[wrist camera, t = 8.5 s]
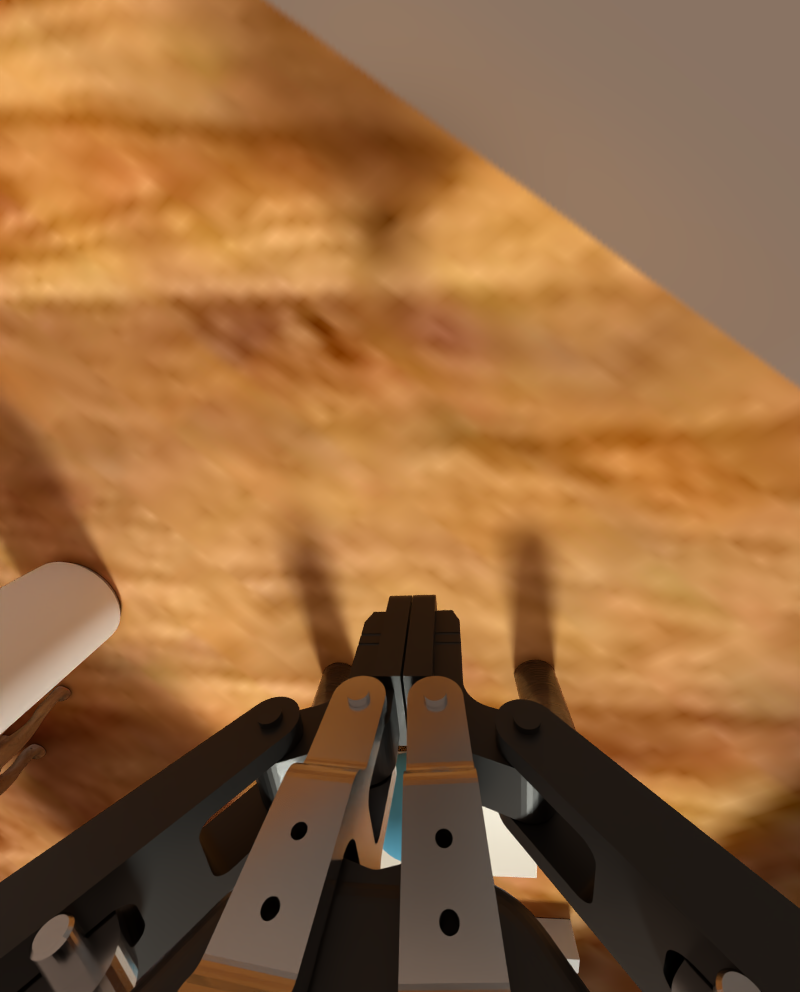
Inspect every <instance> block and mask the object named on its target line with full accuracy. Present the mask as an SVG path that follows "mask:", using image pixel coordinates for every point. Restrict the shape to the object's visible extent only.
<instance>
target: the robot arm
mask: <svg viewBox="0 0 800 992" xmlns="http://www.w3.org/2000/svg"><path fill="white" fill-rule="evenodd" d="M398 746H407V754H406V771H404V774H403V799H402V843H401V864H399V865H395V866H391V867H387V868H383V869H381V856H382V850H383V844H384V839H385V834H386V828H387V823H388V818H389V813H390V807H391V802H392V797H393V792H394V786H395V781H396V775H397V771H396V762H397V755H398ZM255 780H256V782H257V784H255V785H254V786H253V787H252V788H251V789H249V790H248V791H247V792H246V793H245V794H243V795H242V796H241V797H240V798H239V799H237V800H236V801H235V802H234V803H233V804H231V805H230V806H229V807H228V808H226V809H225V810H224V811H223V812H222V813H220V814H219V815H218V816H217V817H216V818H214V819H213V820H212V821H211V822H210V823H208V824H207V825H206V826H204V824H205V823H206V821H207V820H208V819H209V818H210V817H211V816H212V815H213V814H215V813H216V812H217V811H218V810H219V809H221V808H222V807H223V806H224V805H226V804H227V803H228V802H229V801H230V800H232V799H233V798H234V797H235V796H237V795H238V794H239V793H240V792H241V791H243V790H244V789H245V788H246V787H247V786H249V785H250V784H251V783H252V782H254V781H255ZM482 806H483V807H486V808H488V809H491V810H493V811H496V812H498V813H499V816H500V818H501V820H502V822H503V824H504V825H505V826H506V828H507V829H508V830H509V831H510V833H511V834H512V835H513V836H514V837H515V839H516V840H517V841H518V842H519V843H520V845H521V846H522V847H523V848H524V850H525V851H526V852H527V853H528V854H529V856H530V857H531V858H532V859H533V860H534V862H535V863H536V864H537V865H538V866H539V868H540V869H541V870H542V871H543V872H544V874H545V875H546V876H547V877H548V878H549V880H550V881H551V882H552V883H553V884H554V886H555V887H556V888H557V889H558V890H559V892H560V893H561V894H562V895H563V896H564V898H565V899H566V900H567V901H568V902H569V904H570V905H571V906H572V907H573V909H574V910H575V911H576V912H577V913H578V915H579V916H580V917H581V918H582V919H583V921H584V922H585V923H586V924H587V925H588V927H589V928H590V929H591V930H592V931H593V933H594V934H595V935H596V936H597V937H598V939H599V940H600V941H601V942H602V943H603V945H604V946H605V947H606V948H607V949H608V951H609V952H610V953H611V954H612V955H613V957H614V958H615V959H616V960H617V962H618V963H619V964H620V965H621V966H622V968H623V969H624V970H625V971H626V972H627V974H628V975H629V976H630V977H631V978H632V980H633V981H634V982H635V983H636V984H637V986H638V987H639V988H640V989H641V990H642V992H800V908H798V907H797V906H796V905H794V904H793V903H792V902H791V901H789V900H788V899H787V898H786V897H784V896H783V895H782V894H781V893H779V892H778V891H777V890H776V889H774V888H773V887H772V886H771V885H769V884H768V883H767V882H765V881H764V880H763V879H762V878H760V877H759V876H758V875H757V874H755V873H754V872H753V871H752V870H750V869H749V868H748V867H747V866H745V865H744V864H743V863H742V862H740V861H739V860H738V859H737V858H735V857H734V856H733V855H731V854H730V853H729V852H728V851H726V850H725V849H724V848H723V847H721V846H720V845H719V844H718V843H716V842H715V841H714V840H713V839H711V838H710V837H709V836H708V835H706V834H705V833H704V832H702V831H701V830H700V829H699V828H697V827H696V826H695V825H694V824H692V823H691V822H690V821H689V820H687V819H686V818H685V817H684V816H682V815H681V814H680V813H679V812H677V811H676V810H675V809H674V808H672V807H671V806H670V805H668V804H667V803H666V802H665V801H663V800H662V799H661V798H660V797H658V796H657V795H656V794H655V793H653V792H652V791H651V790H650V789H648V788H647V787H646V786H645V785H643V784H642V783H641V782H639V781H638V780H637V779H636V778H634V777H633V776H632V775H631V774H629V773H628V772H627V771H626V770H624V769H623V768H622V767H621V766H619V765H618V764H617V763H616V762H614V761H613V760H612V759H611V758H609V757H608V756H607V755H605V754H604V753H603V752H602V751H600V750H599V749H598V748H597V747H595V746H594V745H593V744H592V743H590V742H589V741H588V740H587V739H585V738H584V737H583V736H582V735H580V734H579V733H578V732H577V731H575V730H574V729H573V728H571V727H570V726H569V725H568V724H566V723H565V722H564V721H563V720H561V719H560V718H559V717H558V716H556V715H555V714H554V713H553V712H551V711H550V710H549V709H548V708H546V707H545V706H543V705H541V704H539V703H537V702H534V701H531V700H525V699H517V700H512V701H509V702H507V703H505V704H504V705H502V706H501V707H500V708H499V710H498V709H495V708H492V707H488V706H485V705H483V704H481V703H479V702H477V701H476V700H474V699H473V698H472V697H471V696H470V695H469V694H468V693H467V691H466V690H465V688H464V685H463V673H462V655H461V638H460V621H459V619H458V618H457V616H456V615H455V613H454V612H453V611H452V610H441V611H437V603H436V595H414V596H413V597H412V596H390V597H389V601H388V605H387V610H386V612H374V613H373V614H372V615H371V616H370V617H369V618H368V619H367V620H366V622H365V624H364V627H363V630H362V636H361V637H360V641H359V646H358V647H357V651H356V654H355V658H354V661H353V664H352V668H351V671H350V675H349V678H348V680H346V681H344V682H343V683H342V684H340V685H339V686H338V687H337V688H336V690H335V691H334V693H333V695H332V697H331V700H330V701H328V702H326V703H323V704H320V705H317V706H313V707H310V708H306V709H302V710H299V706H298V704H297V703H296V702H295V701H294V700H293V699H290V698H287V697H274V698H270V699H268V700H265V701H263V702H261V703H260V704H258V705H256V706H255V707H253V708H252V709H251V710H249V711H248V712H246V713H245V714H243V715H242V716H240V717H239V718H238V719H236V720H235V721H233V722H232V723H230V724H229V725H227V726H226V727H225V728H223V729H222V730H220V731H219V732H217V733H216V734H214V735H213V736H211V737H210V738H209V739H207V740H206V741H204V742H203V743H201V744H200V745H198V746H197V747H196V748H194V749H193V750H191V751H190V752H188V753H187V754H185V755H184V756H183V757H181V758H180V759H178V760H177V761H175V762H174V763H172V764H171V765H169V766H168V767H167V768H165V769H164V770H162V771H161V772H159V773H158V774H156V775H155V776H154V777H152V778H151V779H149V780H148V781H146V782H145V783H143V784H142V785H141V786H139V787H138V788H136V789H135V790H133V791H132V792H130V793H129V794H128V795H126V796H125V797H123V798H122V799H120V800H119V801H117V802H116V803H114V804H113V805H112V806H110V807H109V808H107V809H106V810H104V811H103V812H101V813H100V814H99V815H97V816H96V817H94V818H93V819H91V820H90V821H88V822H87V823H86V824H84V825H83V826H81V827H80V828H78V829H77V830H75V831H74V832H72V833H71V834H70V835H68V836H67V837H65V838H64V839H62V840H61V841H59V842H58V843H57V844H55V845H54V846H52V847H51V848H49V849H48V850H46V851H45V852H44V853H42V854H41V855H39V856H38V857H36V858H35V859H33V860H32V861H31V862H29V863H28V864H26V865H25V866H23V867H22V868H20V869H19V870H17V871H16V872H15V873H13V874H12V875H10V876H9V877H7V878H6V879H4V880H3V881H2V882H0V992H590V991H589V990H588V988H587V987H586V986H585V984H584V983H583V981H582V980H581V979H580V977H579V976H578V974H577V973H576V972H575V970H574V969H573V967H572V966H571V964H570V963H569V962H568V960H567V959H566V957H565V956H564V955H563V953H562V952H561V950H560V949H559V947H558V946H557V945H556V943H555V942H554V940H553V939H552V938H551V936H550V935H549V933H548V932H547V931H546V930H545V928H544V927H543V926H542V924H541V923H540V922H539V921H538V920H537V919H536V917H535V916H534V915H533V914H532V913H531V912H530V911H529V910H528V909H527V908H526V907H525V906H524V905H523V904H522V903H520V902H519V901H518V900H517V899H516V898H514V897H513V896H512V895H510V894H509V893H508V892H506V891H505V890H503V889H501V888H499V887H497V886H496V885H494V880H493V874H492V867H491V861H490V854H489V848H488V841H487V835H486V828H485V822H484V815H483V809H482ZM203 826H204V827H203ZM202 827H203V828H202ZM233 888H234V889H233ZM232 889H233V890H232ZM230 890H232V891H230ZM229 891H230V892H229ZM228 892H229V893H228ZM227 893H228V894H227ZM226 894H227V895H226ZM225 895H226V896H225ZM197 922H198V923H197ZM196 923H197V924H196ZM195 924H196V925H195ZM194 925H195V926H194ZM193 926H194V927H193ZM192 927H193V928H192ZM191 928H192V929H191ZM190 929H191V930H190ZM189 930H190V931H189ZM188 931H189V932H188ZM187 932H188V933H187ZM186 933H187V934H186ZM185 934H186V935H185ZM184 935H185V936H184ZM183 936H184V937H183ZM182 937H183V938H182ZM181 938H182V939H181ZM180 939H181V940H180ZM179 940H180V941H179ZM178 941H179V942H178ZM177 942H178V943H177ZM176 943H177V944H176ZM175 944H176V945H175ZM174 945H175V946H174ZM173 946H174V947H173ZM172 947H173V948H172ZM171 948H172V949H171ZM170 949H171V950H170ZM169 950H170V951H169ZM168 951H169V952H168ZM167 952H168V953H167ZM166 953H167V954H166ZM165 954H166V955H165ZM163 955H165V956H164V957H163V958H162V959H161V961H160V962H159V963H158V964H157V965H156V966H155V967H154V968H153V969H152V970H151V971H150V972H149V973H148V974H147V975H146V976H145V977H144V978H143V979H142V980H141V981H140V982H139V983H138V984H137V985H136V986H135V984H136V982H137V981H138V980H139V979H140V978H141V977H142V976H143V975H144V974H145V973H146V972H147V971H148V970H149V969H150V968H151V967H152V966H153V965H154V964H155V963H156V962H157V961H158V960H159V959H160V958H161V957H162V956H163Z"/></svg>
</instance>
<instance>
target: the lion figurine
mask: <svg viewBox="0 0 800 992" xmlns="http://www.w3.org/2000/svg"><path fill="white" fill-rule="evenodd" d="M70 694H71V693H70V690H69V689H67V688H65V687H63V686H58V687H56V688H55V689H54V690H53V691H52V692H51V693H50V694H49V696H48V697H47V698H46V699H45V700H44V701H43V702H42V703H41V704H40V705H39V706H38V707H37V709H36V710H35V712H34V714H33V716H32V717H31V718H30V720H29V721H28V722H27V723H26V724H25V725H24V726H23V727H21V728H20V729H19V730H17V731H16V732H15V733H13V734H12V735H10V736H7V735H2V734H3V733H4V732H5V731H6V730H7V729H8V728H9V727H10V726H11V725H10V726H9V727H8V728H7V729H6V730H5V731H4V732H3V733H1V734H0V771H1V769H2V767H3V766H4V765H5V764H6V763H7V762H8V761H9V760H10V759H11V758H12V757H13V756H14V755H16V754H17V753H18V752H19V751H20V750H21V749H22V748H23V747H24V745H25V744H26V743H27V742H28V741H29V739H30V738H31V737H32V736H33V734H34V733H35V732H36V730H37V729H38V727H39V726H40V724H41V722H42V721H43V719H44V718H45V716H46V715H47V714H48V713H49V712H50V710H51V709H52V707H53V706H54V705H55V704H56V703H57V702H58V701H63V700H66V699H67V698H68V697H69V696H70ZM1 735H2V736H1ZM45 754H46V751H45V749H44V748H43V747H41V746H40V745H37V744H32V745H30V746H29V747H27V748H26V749H24V750H23V751H22V752H21V754H20V755H19V756H18V757H17V759H16V760H15V762H14V763H13V764H12V765H11V766H10V767H9V768H8V769H7V770H6V771H5V772H4V773H3V774H1V775H0V795H1V794H2V793H4V792H5V791H6V790H7V789H8V788H9V786H10V785H11V784H12V783H13V782H14V781H15V780H16V778H17V777H18V776H19V774H20V773H21V771H22V770H23V768H24V767H25V766H26V765H27V764H28V762H29V761H30V760H31V759H39V758H41V757H43V756H44V755H45Z"/></svg>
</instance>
